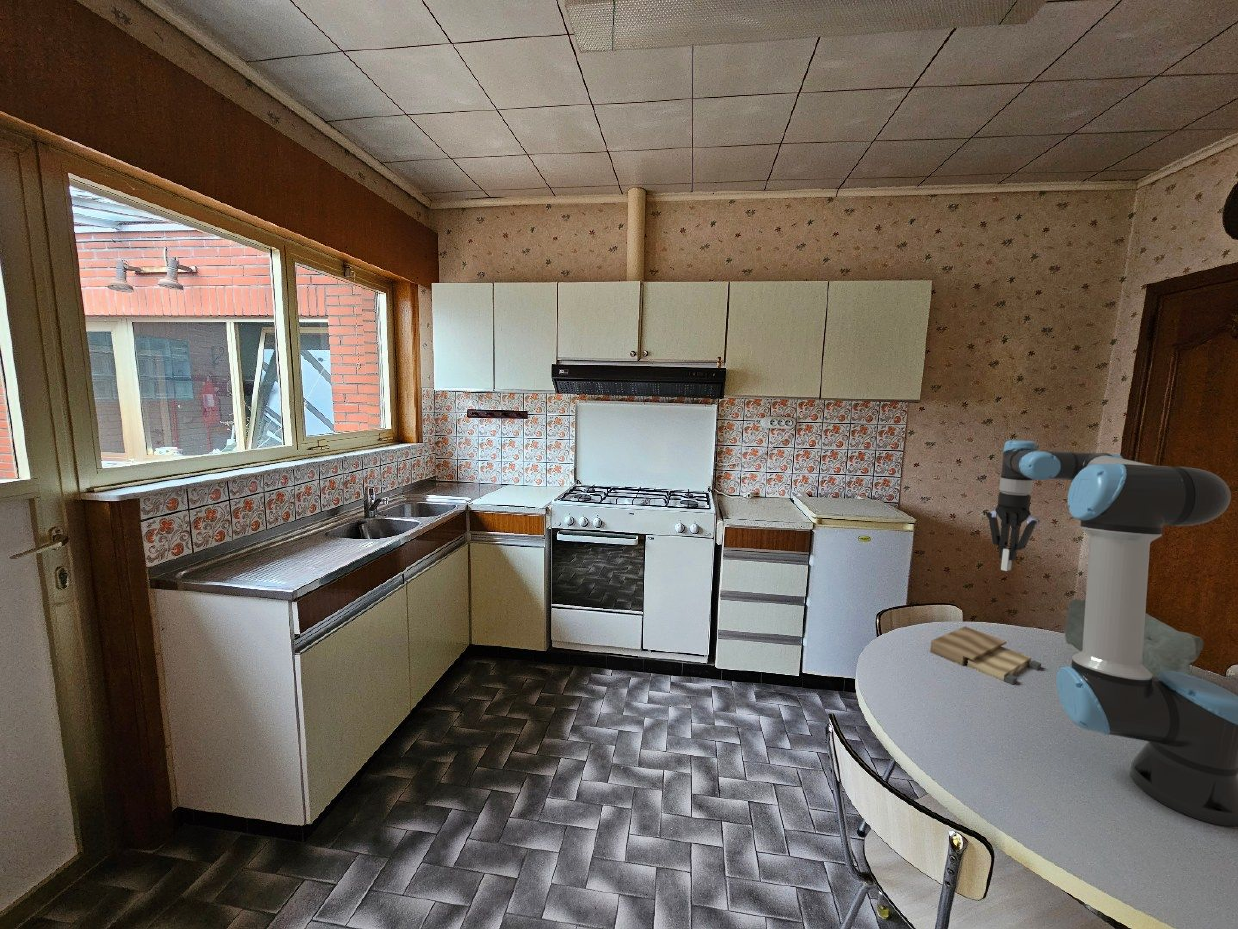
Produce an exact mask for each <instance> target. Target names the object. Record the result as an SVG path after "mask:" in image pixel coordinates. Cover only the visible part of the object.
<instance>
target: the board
mask: <svg viewBox="0 0 1238 929" xmlns="http://www.w3.org/2000/svg"><path fill="white" fill-rule="evenodd" d="M1004 645H1007V640H1005V639H1001V638H998V637H997V636H996V637H995V636H994V635H990V634H987V633H984V632H982V631H980V630H976V629H974V628H972V627H968V626H963V627H960V628H957V629H956V630H954V631H951V632H948V633H946V634H944V635H942V636H939V637H936V638H934V639H932V640H931V641H930V650H929V653H931V654H934V655H937V656H939V657H941V656H942V657H941V658H943V657H944V658H943V659H946V660H947V661H951V662H953V663H955V662H957V663H958V665H960V666H964V665H966V664H968V663H967V662H968V660H969V659H972V660H974V659H976V658H978V657H980V656H982V655H984V654H986V653H988V652H990V651H992V650H994V649H996V648H998V647H1000V646H1001V647H1003V646H1004ZM957 663H956V664H957ZM965 663H966V664H965Z"/></svg>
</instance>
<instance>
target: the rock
mask: <svg viewBox="0 0 1238 929" xmlns="http://www.w3.org/2000/svg"><path fill="white" fill-rule="evenodd" d="M1085 603H1086V599H1083V600H1081V599H1079V598H1078V599H1077V598H1075V599H1072V600H1071V601H1069V603H1068V604H1069V605H1068V610H1067V616H1066V620H1065V627H1064V628H1065V630H1064V637H1065V642H1066V644H1067V645H1071V646H1073V648H1075V649H1077V650H1078V651H1079V652H1081V651H1082V649H1083V634H1084V618H1085ZM1203 647H1204V641H1203V638H1202V637H1200V636H1196V635H1194V634H1192V633H1190V632H1184V631H1178V630H1177V629H1175V628H1174V627H1172V626H1170V625H1168V624H1166V623H1165V622H1162V621H1160V620H1159V619H1157V618H1155V617H1153V616H1151V615H1150V614H1149V613H1146V612H1145V626H1144V642H1143V657H1142V664H1143V666H1144V667H1145V668H1146V669H1147V670H1148V671H1149V672H1150V673H1151V674H1152V675H1153V678H1157V675H1159V673H1160V672H1162V671H1166V670H1167V671H1176V672H1180V673H1184V674H1188V675H1191V674H1192V673H1193V672H1192V670H1191V669H1190V665H1191V663H1194V662H1195V661H1196V660H1197V659H1198V658H1199V656H1200V654H1201V652H1202V650H1203V649H1204V648H1203ZM1191 676H1192V675H1191ZM1157 679H1158V678H1157Z"/></svg>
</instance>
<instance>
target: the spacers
mask: <svg viewBox="0 0 1238 929" xmlns="http://www.w3.org/2000/svg"><path fill="white" fill-rule="evenodd" d="M1028 668H1030V669H1032V670H1035V671H1038V670H1040V669H1041V668H1042V663H1041V662H1040V661H1036V660H1031V662H1029V665H1028ZM1005 681H1006V682H1005ZM1003 682H1005V683H1008V684H1010V685H1014V684H1016V683H1017V682H1018V677H1017V676H1015V675H1010V674H1007V675H1006V676H1004V681H1003Z"/></svg>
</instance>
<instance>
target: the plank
mask: <svg viewBox="0 0 1238 929" xmlns="http://www.w3.org/2000/svg"><path fill="white" fill-rule="evenodd" d="M1031 661H1032V657H1031V656H1028V655H1026V654H1024V653H1023V654H1022V653H1020V652H1017V651H1014V650H1012V649H1009V648H1006V647H1004V646H1000V647H998V648H996V649H994V650H992V651H990V652H988V653H986V654H984V655H982V656H980V657H978V658H976V659H974V660H972V659H969V660H968V663H966V664H967V666H968V667H967V668H971V669H972V670H975V669H976V670H975V671H977V670H978V672H980V673H982V674H985V675H986V676H989V675H990V677H992V676H993V677H992V678H994V677H995V679H998V680H999V681H1002V682H1005V681H1004V676H1006V675H1007V674H1010V675H1013V676H1015V674H1017V673H1019V672H1021V671H1022V670H1023V669H1025V668H1026V667H1027V665H1028V666H1029V662H1031ZM1021 669H1022V670H1021Z"/></svg>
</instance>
